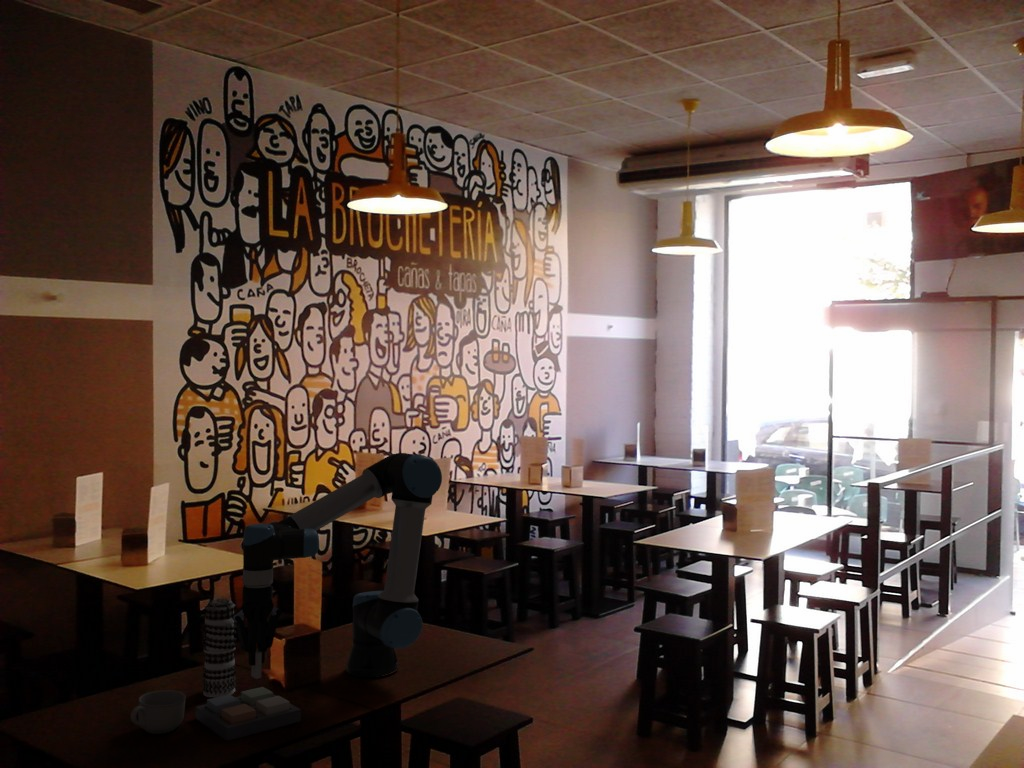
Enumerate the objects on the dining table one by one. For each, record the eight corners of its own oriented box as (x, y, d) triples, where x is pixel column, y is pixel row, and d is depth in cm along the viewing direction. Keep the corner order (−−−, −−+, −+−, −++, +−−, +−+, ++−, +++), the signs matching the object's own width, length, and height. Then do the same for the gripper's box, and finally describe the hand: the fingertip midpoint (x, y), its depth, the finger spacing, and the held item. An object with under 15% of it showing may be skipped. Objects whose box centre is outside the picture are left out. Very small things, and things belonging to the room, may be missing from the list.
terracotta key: (244, 715, 219) (245, 703, 219) (255, 722, 214) (255, 710, 214) (221, 721, 215) (221, 709, 215) (232, 728, 210) (232, 716, 210)
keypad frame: (266, 701, 234) (266, 690, 234) (300, 721, 220) (300, 709, 220) (195, 718, 222) (195, 706, 222) (227, 741, 207) (227, 728, 207)
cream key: (278, 707, 225) (278, 695, 225) (289, 713, 220) (289, 701, 220) (256, 712, 221) (256, 700, 221) (267, 719, 216) (267, 707, 216)
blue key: (229, 706, 226) (229, 694, 226) (239, 712, 221) (239, 700, 221) (206, 711, 222) (206, 699, 222) (216, 718, 217) (216, 706, 217)
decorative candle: (194, 693, 240) (195, 601, 240) (223, 684, 248) (223, 595, 248) (214, 700, 235) (215, 606, 235) (243, 691, 242) (244, 599, 243)
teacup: (171, 718, 222) (171, 686, 222) (194, 728, 215) (194, 695, 215) (116, 734, 211) (117, 700, 211) (139, 746, 204) (139, 711, 205)
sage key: (262, 698, 231) (262, 686, 232) (273, 704, 227) (273, 692, 227) (240, 703, 227) (240, 691, 228) (251, 709, 223) (251, 697, 223)
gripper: (274, 579, 235) (273, 668, 234) (227, 585, 226) (225, 678, 226) (287, 584, 229) (286, 675, 229) (239, 590, 220) (238, 685, 220)
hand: (256, 676), depth 227 cm, fingers closed
